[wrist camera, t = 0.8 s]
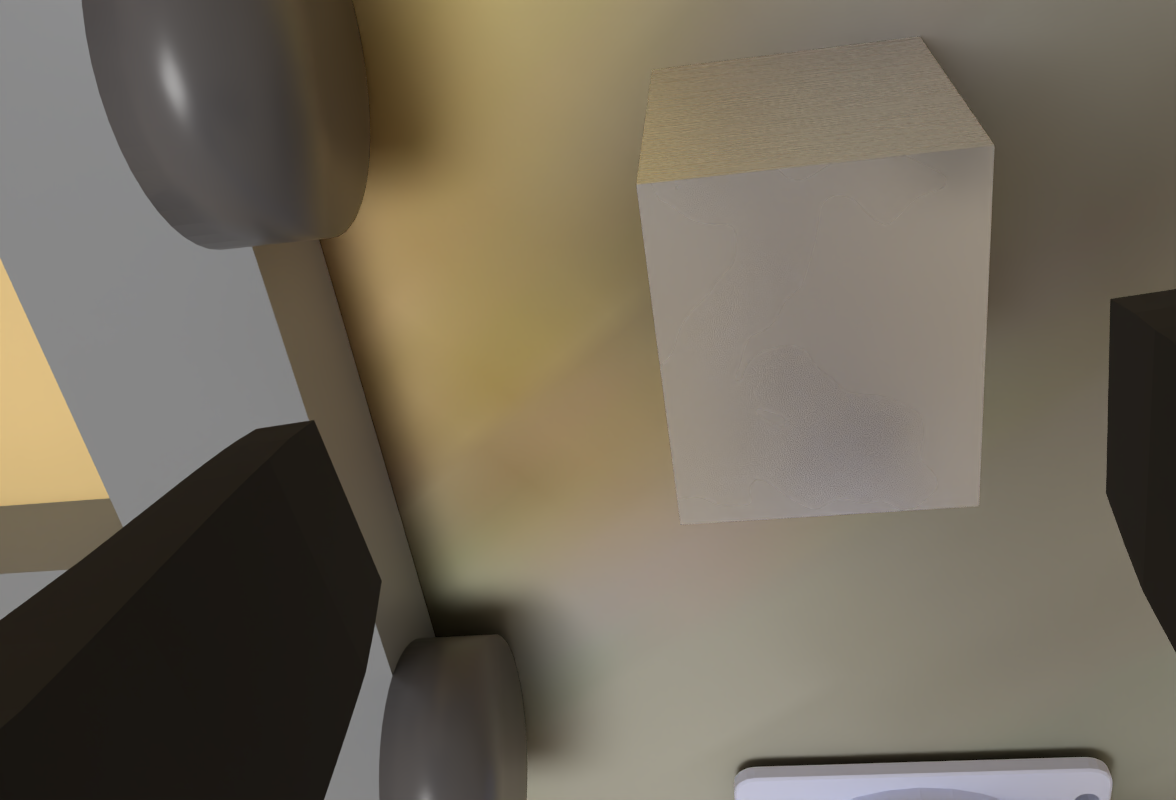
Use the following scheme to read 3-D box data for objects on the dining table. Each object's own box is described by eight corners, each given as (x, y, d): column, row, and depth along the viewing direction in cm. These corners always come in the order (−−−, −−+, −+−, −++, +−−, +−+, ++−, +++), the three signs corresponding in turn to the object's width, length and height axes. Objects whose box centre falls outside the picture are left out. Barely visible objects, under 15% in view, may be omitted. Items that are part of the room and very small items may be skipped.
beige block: (916, 330, 19) (978, 506, 15) (684, 350, 20) (680, 525, 15) (919, 35, 16) (994, 145, 12) (652, 68, 17) (636, 184, 13)
